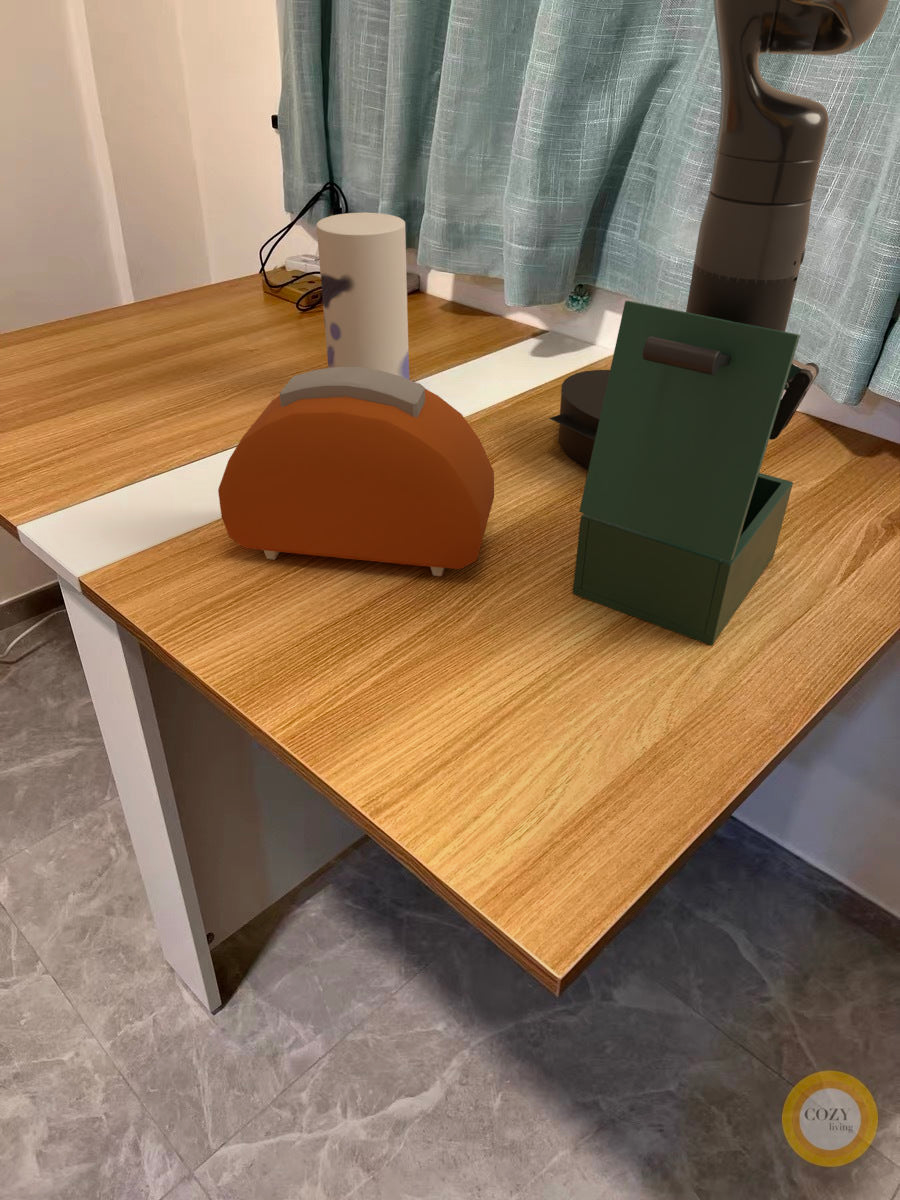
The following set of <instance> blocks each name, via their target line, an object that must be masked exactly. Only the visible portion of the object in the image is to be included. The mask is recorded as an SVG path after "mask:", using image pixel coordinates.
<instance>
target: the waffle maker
mask: <svg viewBox="0 0 900 1200" xmlns="http://www.w3.org/2000/svg"><path fill="white" fill-rule="evenodd" d="M609 373H610V369H593V370H585V371H581V372H576V373H574V374H572V375H569V376H568V377H567V378H565V379H564V380H563V382H562V383H561V390H560V391H561V392H560V405H559V414H557V415H554V416H552V417H549V418H548V420H550V421H553V422H555V423H557V424H558V435H557V436H558V439H557V440H558V441H557V442H558V445H559V447H560V450H561V451H562V452H563V453H564V455H565V456H566V457H567V458H568V459H570V460H571V461H572V462H573V463H575V464H576V465H578V466H579V467H581V468H583V470H586V471H588V469H589V465H590V460H591V455H592V451H593V446H594V442H595V437H596V433H597V428H598V423H599V419H600V414H601V410H602V405H603V401H604V396H605V391H606V387H607V382H608V378H609Z"/></svg>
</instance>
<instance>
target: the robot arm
mask: <svg viewBox="0 0 900 1200" xmlns="http://www.w3.org/2000/svg"><path fill="white" fill-rule="evenodd" d="M889 2H890V0H713V11H714V13H713V14H714V23H715V32H716V41H717V51H718V59H719V76H720V78H719V79H720V113H719V126H718V134H717V142H716V147H715V149H716V150H715V154H714V159H713V167H712V172H711V178H710V184H709V191H708V196H707V200H706V203H705V207H704V210H703V213H702V217H701V221H700V224H699V229H698V237H697V242H696V247H695V248H696V249H695V253H694V261H693V266H692V273H691V279H690V284H689V290H688V297H687V298H688V299H687V304H686V309H685V312H688V313H693V314H698V315H703V316H708V317H713V318H718V319H723V320H728V321H733V322H738V323H743V324H749V325H754V326H759V327H764V328H769V329H774V330H779V331H784V332H786V329H787V326H788V322H789V321H788V320H789V316H790V314H791V313H790V312H791V308H792V304H793V299H794V295H795V291H796V286H797V283H798V282H797V281H798V278H799V274H800V269H801V266H802V264H803V262H804V259H805V253H806V242H807V239H808V234H809V226H810V219H811V218H810V216H811V208H812V202H813V195H814V193H815V187H816V182H817V178H818V173H819V170H820V165H821V161H822V157H823V153H824V149H825V144H826V140H827V135H828V129H829V121H830V120H829V113H828V110H827V109H826V107H825V106H824V105H823V104H822V103H820V102H818V101H816V100H813V99H811V98H808V97H804V96H801V95H797V94H793V93H789V92H785V91H783V90H780V89H778V88H775V87H773V86H772V85H770V84H769V83H768V82H766V80H765V79H764V78H763V76H762V73H761V69H760V64H759V62H760V61H759V59H760V56H761V55H764V54H765V55H766V54H767V53H768V55H795V56H821V57H823V56H824V57H825V56H827V57H828V56H837V55H844V54H846V53H848V52H851V51H853V50H856V49H857V48H859V47H861V46H862V45H863V44H864V43H866V42H867V41H868V40H869V39H870V38H871V36H872V35H873V34H874V33H875V31H876V30H877V28H878V27H879V25H880V24H881V21H882V19H883V18H884V15H885V13H886V10H887V6H888V5H889ZM819 373H820V368H819V365H818V364H816V363H815V362H807V363H802V362H801V361H799V360H797V359H795V358H793V361H792V365H791V368H790V371H789V375H788V378H787V381H786V385H785V388H784V391H785V392H784V393H783V395H782V398H781V401H780V405H779V408H778V411H777V415H776V418H775V421H774V425H773V428H772V431H771V435H770V438H769V441H770V440H771V441H772V440H776V439H777V438H778V437H779V436H780V435H781V433H782V432H783V430H785V429H786V428H787V427H788V426H789V423H790V422H791V420H792V418H793V417H794V415H795V413H796V412H797V410H798V408H799V407H800V405H801V403H802V402H803V400H804V398H805V396H806V395H807V393H808V392H809V390H810V388H811V387H812V385H813V383H814V381H815V380H816V378H817V377H818V375H819Z"/></svg>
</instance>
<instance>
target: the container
mask: <svg viewBox="0 0 900 1200" xmlns="http://www.w3.org/2000/svg"><path fill="white" fill-rule="evenodd" d="M316 237H317V247H318V248H317V250H318V261H319V272H320V283H321V297H322V308H323V309H322V310H323V321H324V333H325V345H326V355H327V357H326V358H327V368H332V367H361V368H368V369H375V370H380V371H384V372H387V373H391V374H394V375H398V376H401V377H404V378H406V379H409V380H410V356H409V355H410V353H409V325H408V324H409V319H408V318H409V316H408V315H409V313H408V282H407V281H408V280H407V279H408V278H407V244H406V243H407V242H406V241H407V240H406V221H405V220H404V219H403V218H401V217H400V216H397V215H392V214H387V213H380V212H347V213H339V214H334V215H330V216H327V217H324V218H321V219H320V220H318V222H316Z"/></svg>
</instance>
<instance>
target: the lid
mask: <svg viewBox="0 0 900 1200" xmlns="http://www.w3.org/2000/svg"><path fill="white" fill-rule="evenodd" d="M800 337H801V334H799V333H793V332H789V331H785V332H784V331H779V330H774V329H769V328H764V327H759V326H754V325H749V324H743V323H738V322H733V321H728V320H723V319H718V318H713V317H708V316H703V315H698V314H693V313H688V312H686V311H683V310H678V309H672V308H667V307H663V306H659V305H658V306H657V305H652V304H647V303H642V302H637V301H633V300H625V301H624V305H623V309H622V314H621V318H620V324H619V328H618V332H617V337H616V341H615V345H614V351H613V354H612V355H613V356H612V360H611V363H610V364H611V365H610V368H609V370H610V373H609V378H608V382H607V387H606V391H605V396H604V401H603V405H602V410H601V414H600V419H599V423H598V428H597V433H596V437H595V442H594V446H593V451H592V455H591V460H590V465H589V469H588V470H587V474H586V479H585V483H584V488H583V492H582V498H581V501H580V507H579V510H578V512H579V513H581V514H587V515H590V516H593V517H596V518H599V519H602V520H605V521H608V522H611V523H614V524H618V525H621V526H624V527H627V528H630V529H633V530H636V531H639V532H642V533H645V534H648V535H651V536H655V537H658V538H661V539H664V540H667V541H670V542H673V543H676V544H679V545H682V546H685V547H689V548H692V549H695V550H698V551H701V552H704V553H707V554H710V555H713V556H716V557H719V558H722V559H726V560H729V561H731V560H732V559H733V558H734V555H735V552H736V548H737V545H738V542H739V538H740V535H741V532H742V528H743V525H744V522H745V518H746V515H747V512H748V508H749V505H750V502H751V498H752V495H753V492H754V488H755V485H756V481H757V478H758V475H759V473H760V471H761V467H762V464H763V461H764V459H765V454H766V452H767V448H768V444H769V442H770V439H769V438H770V435H771V431H772V428H773V425H774V421H775V418H776V415H777V411H778V408H779V405H780V401H781V399H782V397H783V395H784V391H785V390H784V388H785V385H786V381H787V378H788V375H789V371H790V368H791V365H792V361H793V359H795V358H794V357H795V354H796V351H797V348H798V344H799V341H800Z"/></svg>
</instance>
